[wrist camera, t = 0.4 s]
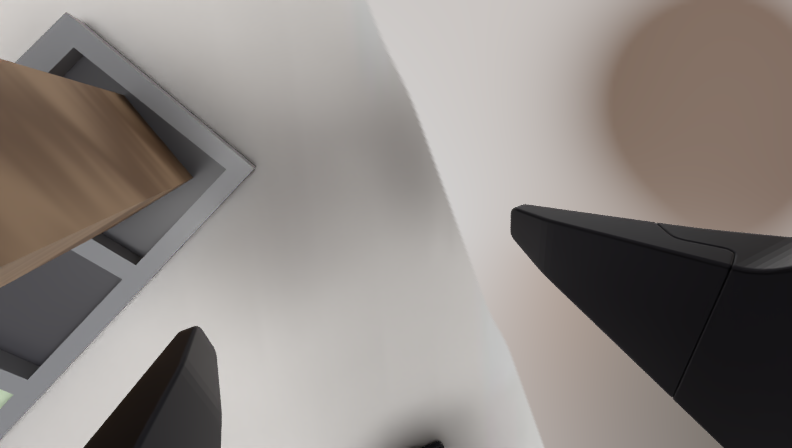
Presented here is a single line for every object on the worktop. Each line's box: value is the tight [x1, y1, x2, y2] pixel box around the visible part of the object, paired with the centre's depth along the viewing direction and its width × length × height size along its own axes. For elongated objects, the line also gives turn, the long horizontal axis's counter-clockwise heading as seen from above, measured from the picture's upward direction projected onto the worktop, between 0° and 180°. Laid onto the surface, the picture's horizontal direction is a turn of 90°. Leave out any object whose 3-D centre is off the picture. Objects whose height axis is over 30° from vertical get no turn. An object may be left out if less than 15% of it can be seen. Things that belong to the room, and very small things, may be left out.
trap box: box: [0, 12, 255, 439], centre depth 17 cm, size 25×10×2 cm, turn 135°
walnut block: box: [0, 59, 193, 288], centre depth 11 cm, size 5×5×15 cm
